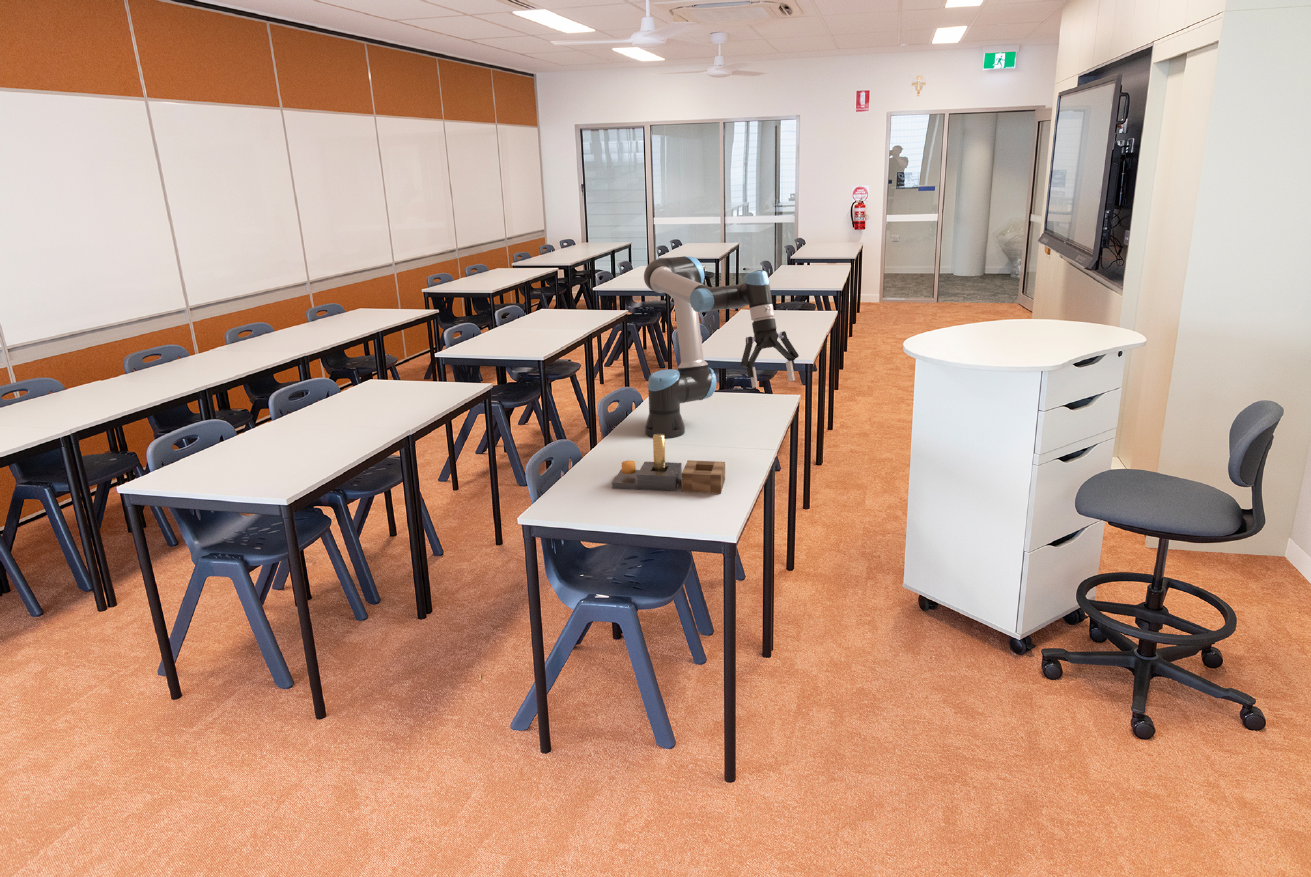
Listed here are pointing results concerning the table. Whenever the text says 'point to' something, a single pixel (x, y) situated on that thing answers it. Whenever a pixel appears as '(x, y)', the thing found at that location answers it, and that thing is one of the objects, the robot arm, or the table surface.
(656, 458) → the gold metal bar
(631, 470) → the release button
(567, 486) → the table surface
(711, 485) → the wooden peg hole block
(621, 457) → the table surface
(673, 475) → the socket
